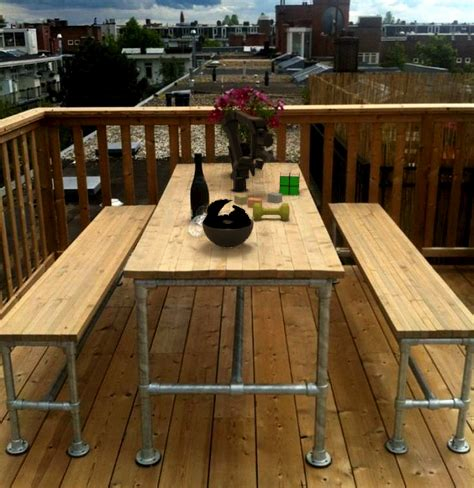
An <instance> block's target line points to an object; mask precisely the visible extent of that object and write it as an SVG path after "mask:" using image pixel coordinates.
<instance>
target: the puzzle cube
mask: <svg viewBox="0 0 474 488" xmlns="http://www.w3.org/2000/svg"><path fill="white" fill-rule="evenodd" d="M300 177H301V176H300V172H299V171H296V172H295V171H281V172H280V173H279V189H278V190H279V191H278V192H279V194H282V196H295V195H296V196H297V195H298V196H300V180H301V179H300Z"/></svg>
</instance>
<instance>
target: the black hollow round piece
mask: <svg viewBox="0 0 474 488" xmlns="http://www.w3.org/2000/svg"><path fill="white" fill-rule="evenodd" d="M232 201H234V200H233V199H228V198H224V199H222V198H219V199H216V200H214V201H212V202H211V203H210V204H209V205H208V206H207V207H206V215H205V217H204V218H203V220H202V222H201V226H202V230H203V233H204V234H205V236H206V238H207V239H208V240H209V241H210V242H211V243H212V244H214V245H215V246H218V247H220V248H224V247H225V249H232V248H235V247H238V246H241V245H242V244H244V243H245V242H246V241H247V240H248V239H249V238H250V236H251V235H252V233H253V230H254V225H255V223H254V222H255V221H254V219H252V218H250V216H249V214H248V212H247V211H246V209H244V208H242V207H240V205H239V206H238V205H236V204H232V205H231V208H233V210H232V211H230V212H229V213H224V214H220V212H221V211H222V209H223V208H225V206H226V205H228V204H229V203H230V202H232ZM231 247H232V248H231Z"/></svg>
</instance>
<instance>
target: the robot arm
mask: <svg viewBox="0 0 474 488" xmlns="http://www.w3.org/2000/svg"><path fill="white" fill-rule="evenodd" d="M240 122H241V123H243V124H245V125H246V127H247V128H248V130H250V131H249V132H248V135H250V145H249V146H248V149H250V154H248V156H243V152H242V151H243V150H242V148H241V144H240V139H239V136H238V130H239V124H240ZM266 123H267V122H266V121H265V119H264V118H262V117H258V116H257V117H256V116H252V115H249V114H248V113H246V112H244V111H242V110H240V109H234V110H231V111H230V112H229V113H227V114H226V115H225V116H223V117H222V119H221V120H220V124H221V127H222V130H223V132H224V133H225V134H226V135H227V138H228V143H229V147H230V149H231V153H232V154H231V155H232V158H233V165H232V171H231V173H230V174H229V177H230V180H232V184H233V185H232V188H231V189H230V190H231V191H233V192H237V193H242V192H243V193H244V192H246V191H247V192H248V191H249V189H248V188H247V180H249V179H250V177H249V170H250V172H251V174H252V176H255V168H256V169H262V170H263V168H264V166H265V164H266V163H268V162H270V161H271V160H273V159H274V155H275V154H274V150H272V149H269V150H266V149H265V148H271V147H272V146H273V145H274V142H275V140H274V138H273V136H272V135H271V133H270V132H269V129H268V126H267V124H266Z"/></svg>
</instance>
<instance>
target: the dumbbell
mask: <svg viewBox="0 0 474 488" xmlns="http://www.w3.org/2000/svg"><path fill="white" fill-rule="evenodd" d="M290 209H291V208H290V205H289V203H286V202H284V203H282V204H281V205H280V206H279V207H277V208H275V207H267V208H264V207H263V205H262V206H261V204H260V203H254V205H253V208H252V218H253V221H254V220H255V221H260V220H261V219H262V216H279V217H280V219H281V220H282V221H288V220H289V219H290Z"/></svg>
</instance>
